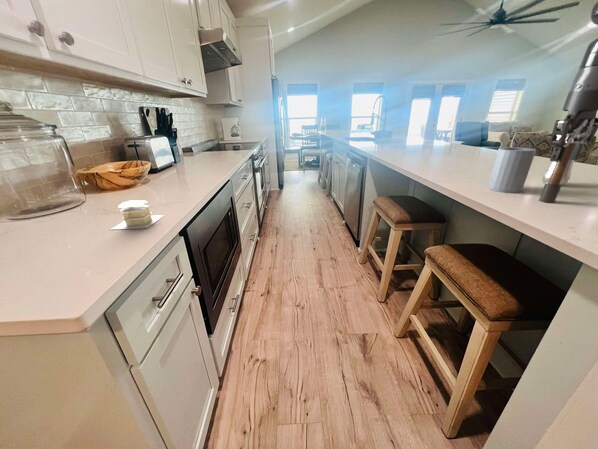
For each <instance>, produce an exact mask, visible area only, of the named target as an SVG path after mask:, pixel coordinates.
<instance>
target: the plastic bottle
mask: <svg viewBox="0 0 598 449" xmlns="http://www.w3.org/2000/svg"><path fill="white" fill-rule="evenodd" d="M577 138H578V137H577ZM566 139H567V138H566ZM565 141H566V140H565ZM571 141H572V140H571ZM575 161H576V160H569V162H568V165H567V167H566V169H565V172H564V174H563V177H562V179H561V181H560V184H561V185H562V186H563V185H565V184H567V183H568V182H569V181H570V179H571V175H572V169H573V166H574V163H575ZM555 165H556V162H552V161H550V163H549V165H548V166H547V169H546V170H545V172H544V173H543V175H542V183H544V184H546V183H548V182H549V180H550V177H551V175H552V172H553V170H554V167H555Z"/></svg>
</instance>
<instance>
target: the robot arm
mask: <svg viewBox="0 0 598 449" xmlns="http://www.w3.org/2000/svg"><path fill="white" fill-rule="evenodd" d="M590 20H591V22H592V23H593V24H594V25H596V26H598V0H597V1H596V2H595V3H594V4H593V7H592V9H591V12H590ZM562 111H563V112H567V114H566V116H565V117H564V119H556V120H555V121H554V125H553V128H552V131H551V136H550V140H549V145H552V146H553V150H552V152H551V155H550V158H549V161H550V162H551V161H552V162H561V161H562V159H563V157H564V154H565V152H566V149H567V146H568V145H569V143H570V142H572V143H576V145H575V148H574V150H573V152H572V155H571V157H570V160H575V161H576V160H577V159H578V158H579V156H580V153H581V151H582V149H583V146H585V145H586V144H587V143H591V142H592V140H593V138H594V137H595V135H596V133H597V131H598V117H597V113H598V37H597V38H595V39H593V40H592V41H590V43H589V44H588V45H587V47H586V49H585V52H584V54H583V56H582V60H581V62H580V65H579V67H578V69H577V72H576V74H575V76H574V78H573V80H572V82H571V85H570V88H569V91H568V93H567V96H566V99H565V101H564V104H563V107H562ZM577 137H578V138H577ZM566 138H567V139H566ZM565 140H566V141H565ZM571 140H572V141H571Z"/></svg>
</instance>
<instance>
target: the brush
mask: <svg viewBox="0 0 598 449" xmlns="http://www.w3.org/2000/svg"><path fill="white" fill-rule="evenodd" d="M575 145H576V143H572V142H570V143H569V145H568V146H567V149H566V152H565V154H564V157H563V159H562V161H561V162H556V165H555V167H554V170H553V172H552V175H551V177H550V180H549V182H548V183H544V187H543V189H542V192H541V194H540V197H539V199H538V201H540V202H542V203H547V204H554V203H556V200H557V197H558V195H559V192H560V190H561V188H562V186H563V185H561V184H560V181H561V179H562V177H563V174H564V172H565V169H566V167H567V165H568V162H569V160H570V157H571V155H572V152H573V150H574V148H575Z"/></svg>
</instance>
